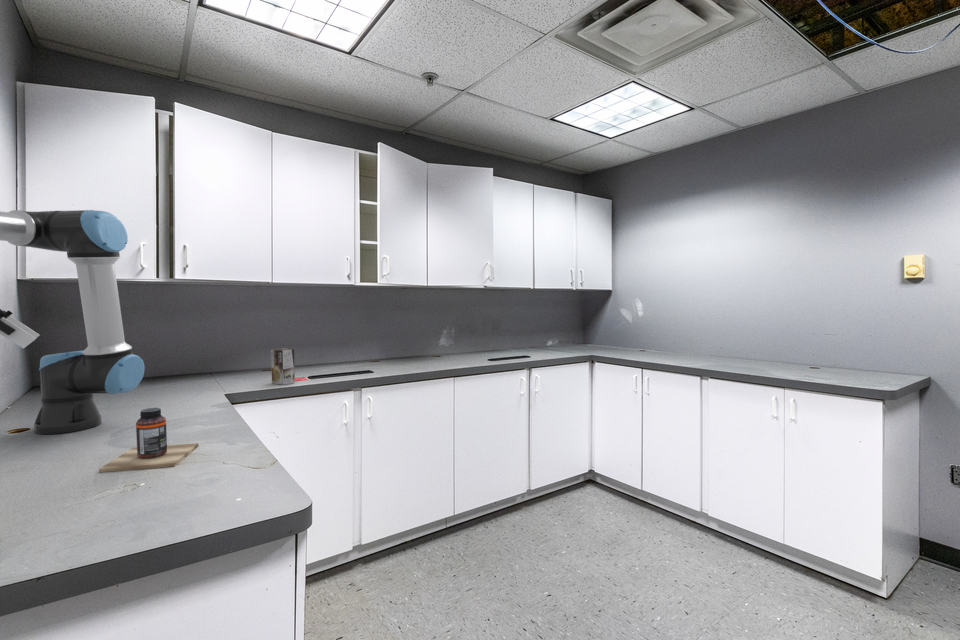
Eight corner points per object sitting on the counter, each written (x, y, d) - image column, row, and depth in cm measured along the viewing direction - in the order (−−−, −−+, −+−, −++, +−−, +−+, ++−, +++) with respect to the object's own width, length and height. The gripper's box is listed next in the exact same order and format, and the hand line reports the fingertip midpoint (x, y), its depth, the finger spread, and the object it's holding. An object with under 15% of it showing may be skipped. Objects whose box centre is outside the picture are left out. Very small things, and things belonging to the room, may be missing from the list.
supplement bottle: (142, 452, 112) (140, 407, 111) (170, 449, 114) (168, 405, 113) (133, 460, 106) (131, 413, 106) (163, 457, 108) (161, 410, 108)
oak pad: (132, 450, 116) (132, 447, 116) (198, 446, 119) (198, 443, 119) (99, 472, 101) (98, 468, 101) (174, 466, 105) (174, 462, 105)
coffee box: (295, 383, 212) (294, 348, 211) (283, 385, 206) (282, 350, 206) (283, 381, 217) (282, 347, 216) (271, 383, 211) (270, 349, 211)
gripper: (-85, 284, 95) (20, 349, 106) (-123, 279, 76) (9, 360, 87) (-47, 260, 98) (50, 326, 109) (-76, 250, 80) (45, 331, 90)
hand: (32, 341), depth 98 cm, fingers open, 13 cm apart
